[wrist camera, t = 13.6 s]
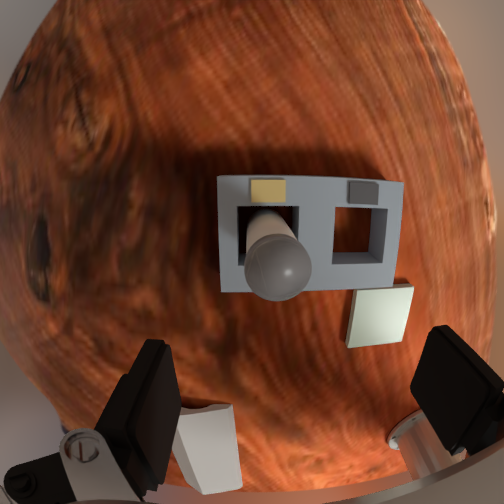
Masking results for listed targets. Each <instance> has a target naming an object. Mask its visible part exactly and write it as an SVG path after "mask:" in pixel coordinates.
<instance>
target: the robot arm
mask: <svg viewBox="0 0 504 504" xmlns="http://www.w3.org/2000/svg"><path fill="white" fill-rule="evenodd" d="M503 388H504V381H503V380H502V379H501V378H500V377H499V376H498V375H497V374H496V373H495V372H494V371H493V369H491V368H490V366H489V365H488V364H487V363H486V362H485V361H484V360H483V359H482V358H481V357H480V356H479V355H478V354H477V353H476V352H475V351H474V350H473V349H472V348H471V347H470V346H469V345H468V344H467V343H466V342H465V341H464V340H463V339H462V338H461V337H460V336H458V335H457V334H456V333H455V332H454V331H453V330H452V329H451V328H450V327H449V326H448V325H441V326H435V327H433V328H432V330H431V331H430V332H429V333H428V336H427V339H426V342H425V346H424V349H423V352H422V355H421V358H420V360H419V363H418V366H417V369H416V371H415V374H414V377H413V379H412V382H411V385H410V390H411V393H412V395H413V396H414V398H415V399H416V401H417V403H418V404H419V406H420V408H421V409H420V410H418V411H416V412H414V413H412V414H411V415H409V416H408V417H406V418H405V419H403V420H402V421H401V422H400V423H399V424H398V425H397V426H396V427H395V428H394V429H393V430H392V431H391V433H390V434H389V436H388V439H387V442H388V445H389V447H390V448H392V449H395V450H400V452H401V454H402V457H403V459H404V461H405V463H406V466H407V468H408V470H409V472H410V474H411V477H412V479H413V481H412V482H409V483H406V484H403V485H400V486H397V487H393V488H390V489H387V490H383V491H380V492H376V493H372V494H368V495H364V496H360V497H356V498H351V499H346V500H341V501H336V502H330V503H325V504H504V393H503V392H502V391H503ZM181 406H182V403H181V397H180V392H179V388H178V383H177V378H176V373H175V368H174V363H173V358H172V353H171V348H170V345H168V344H165V342H164V340H156V339H147V340H146V341H145V343H144V345H143V347H142V348H141V350H140V352H139V354H138V356H137V358H136V360H135V362H134V363H133V365H132V367H131V369H130V371H129V373H128V374H124V375H122V377H121V378H120V380H119V382H118V384H117V385H116V387H115V389H114V391H113V393H112V395H111V397H110V399H109V401H108V403H107V405H106V407H105V409H104V410H103V412H102V414H101V416H100V418H99V420H98V422H97V424H96V426H95V428H94V430H92V429H87V428H80V429H75V430H73V431H71V432H69V433H68V434H66V435H65V436H64V437H63V439H62V440H61V442H60V446H59V450H60V452H58V453H55V454H52V455H49V456H46V457H42V458H39V459H36V460H33V461H30V462H26V463H23V464H19V465H16V466H14V467H12V468H10V470H8V471H7V473H6V475H5V477H4V485H2V486H1V485H0V504H156V503H149V502H145V500H144V498H143V496H145V495H146V491H147V490H152V491H157V488H158V484H161V485H162V484H163V483H164V480H165V476H166V471H167V467H168V463H169V458H170V454H171V450H172V445H173V441H174V437H175V433H176V428H177V424H178V420H179V416H180V412H181ZM465 448H466V450H467V452H466V457H465V459H464V460H463V459H462V457H461V456H460V454H459V453H461V452H462V451H463V450H464V449H465Z"/></svg>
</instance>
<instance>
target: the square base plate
mask: <svg viewBox="0 0 504 504" xmlns="http://www.w3.org/2000/svg"><path fill="white" fill-rule="evenodd" d="M413 291H414V286H413V285H411V284H410V283H407V284H393V287H381V288H363V289H354V290H353V298H352V305H351V311H350V318H349V324H348V330H347V336H346V341H345V343H346V345H347V347H348V348H353V347H362V346H371V345H379V344H386V343H393V342H400V341H402V337H403V334H404V330H405V326H406V322H407V318H408V314H409V310H410V305H411V301H412V296H413Z"/></svg>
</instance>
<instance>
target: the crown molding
mask: <svg viewBox="0 0 504 504" xmlns="http://www.w3.org/2000/svg"><path fill="white" fill-rule="evenodd" d="M172 450H173V453H174V455H175V457H176V460H177V462H178V464H179V466H180V469H181V471H182V473H183V475H184V477H185V479H186V482H187V483H188V484H189V485H191V486H192V487H193V488H195V489H196V490H197V491H199V492H200V493H202V494H203V495H205V494H212V493H219V492H225V491H230V490H236V489H240V488H241V487H242V486H243V484H242V477H241V470H240V462H239V454H238V447H237V439H236V430H235V422H234V413H233V404H212V405H210V406H208V407H205V408H201V409H187V408H183V407H181V412H180V416H179V420H178V424H177V428H176V433H175V437H174V441H173V445H172Z"/></svg>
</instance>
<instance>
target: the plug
mask: <svg viewBox="0 0 504 504" xmlns="http://www.w3.org/2000/svg"><path fill="white" fill-rule="evenodd" d="M311 272H312V264H311V259H310V257H309V254H308V253H307V251H306V250H305V248H304V247H303V245H302V244H301V243H300V242H299V241H298V240H297V239H296V237H295V236H294V234H293V233H292V231H291V230H290V228H289V227H288V225H287V224H286V222H285V221H284V219H283V218H282V216H281V215H280V214H279V213H278V212H277V211H275V210H272V209H267V208H265V209H260V210H257V211H256V212H254V213H253V214H252V215H251V216H250V218H249V220H248V222H247V242H246V257H245V264H244V274H245V279H246V282H247V284H248V286H249V287H250V289H251V290H252V291H253V292H254V293H255V294H256V295H258V296H259V297H261V298H263V299H266V300H270V301H283V300H287V299H290V298H292V297H294V296H296V295H298V294H299V293H300V292H301V291H302V290H303V289H304V288H305V287H306V285H307V284H308V282H309V280H310V277H311Z"/></svg>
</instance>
